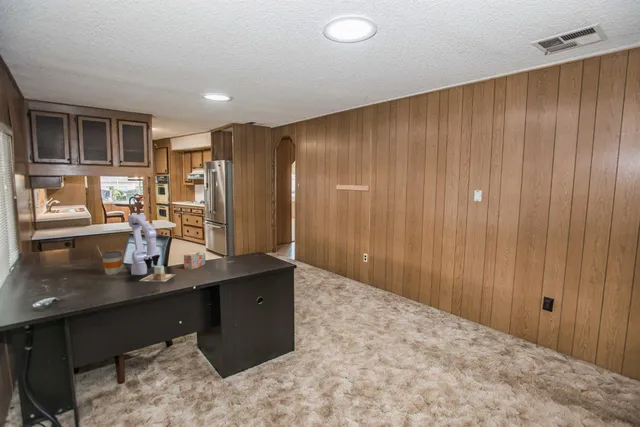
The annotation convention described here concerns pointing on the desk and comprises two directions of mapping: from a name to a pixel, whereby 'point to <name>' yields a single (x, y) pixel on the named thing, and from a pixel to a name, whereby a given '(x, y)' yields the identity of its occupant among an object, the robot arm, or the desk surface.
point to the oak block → (159, 276)
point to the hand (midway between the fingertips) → (152, 267)
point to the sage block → (158, 269)
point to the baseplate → (150, 278)
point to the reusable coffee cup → (112, 262)
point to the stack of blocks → (194, 260)
